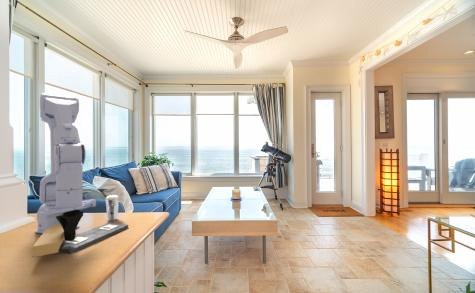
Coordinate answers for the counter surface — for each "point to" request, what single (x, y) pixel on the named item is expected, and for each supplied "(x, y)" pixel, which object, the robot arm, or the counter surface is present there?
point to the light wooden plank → (49, 241)
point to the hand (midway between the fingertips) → (69, 239)
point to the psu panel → (91, 237)
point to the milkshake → (112, 207)
